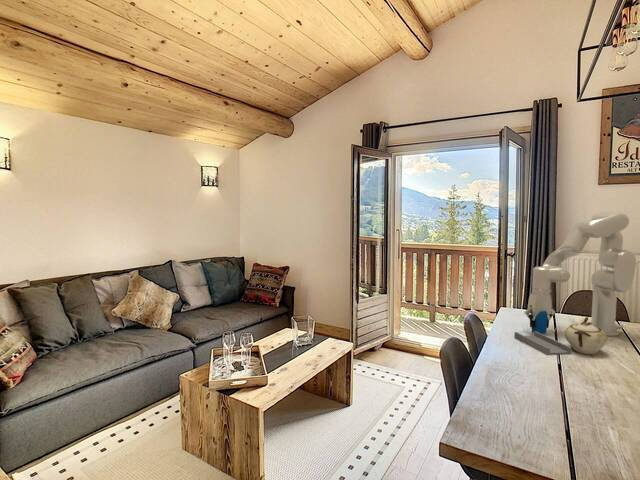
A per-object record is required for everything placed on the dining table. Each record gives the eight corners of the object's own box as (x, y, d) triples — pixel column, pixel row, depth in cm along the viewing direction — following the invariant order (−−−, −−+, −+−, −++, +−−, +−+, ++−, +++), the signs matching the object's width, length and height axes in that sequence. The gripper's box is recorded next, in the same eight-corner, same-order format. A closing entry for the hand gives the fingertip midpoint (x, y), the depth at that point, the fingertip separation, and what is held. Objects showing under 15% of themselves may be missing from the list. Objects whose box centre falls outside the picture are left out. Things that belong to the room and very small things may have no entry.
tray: (535, 336, 180) (535, 331, 180) (571, 353, 158) (571, 347, 158) (514, 337, 179) (514, 332, 179) (547, 355, 157) (547, 348, 157)
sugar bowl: (600, 361, 150) (603, 325, 149) (558, 351, 161) (559, 317, 160) (610, 349, 163) (612, 316, 162) (570, 341, 174) (571, 309, 173)
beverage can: (549, 335, 182) (550, 311, 181) (536, 335, 182) (537, 311, 182) (541, 331, 189) (542, 307, 188) (528, 331, 189) (529, 307, 188)
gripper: (551, 290, 189) (549, 324, 190) (519, 290, 187) (518, 325, 188) (562, 293, 181) (560, 329, 183) (529, 293, 179) (528, 330, 181)
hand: (539, 327), depth 185 cm, fingers closed on beverage can, 6 cm apart
